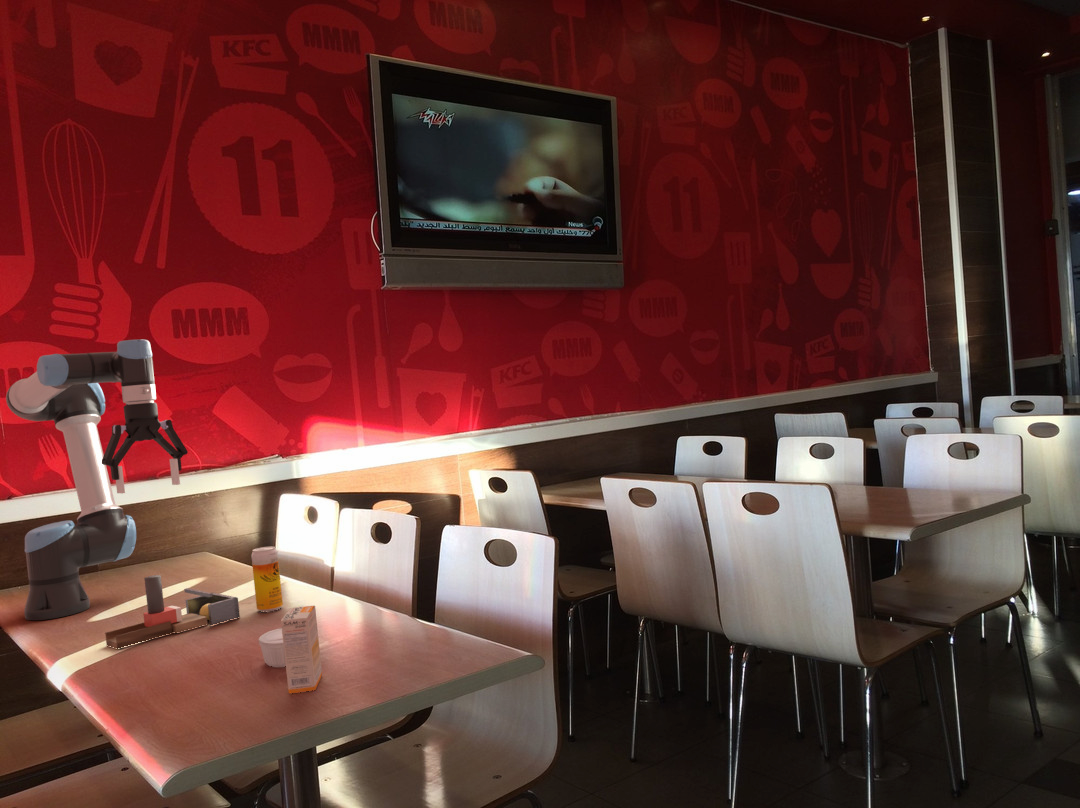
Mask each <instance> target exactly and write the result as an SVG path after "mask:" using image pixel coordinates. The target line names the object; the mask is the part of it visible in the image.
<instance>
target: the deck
mask: <svg viewBox="0 0 1080 808" xmlns="http://www.w3.org/2000/svg"><path fill="white" fill-rule="evenodd" d="M208 622H209V621H207V617H205V616H201V615H197V614H193V613H189V614H187V613H185V614H182V621H179V622H175V623H171V628H172V632H175V633H177V632H181V631H184V630H188V629H192V628H195V627H199V626H202V625H206V624H208ZM208 625H209V624H208Z"/></svg>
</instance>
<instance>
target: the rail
mask: <svg viewBox="0 0 1080 808" xmlns="http://www.w3.org/2000/svg"><path fill="white" fill-rule="evenodd" d="M170 633H172V628H171V621H169V622H165V623H162V624H158V625H154V626H151V627H146V626H145V624H144V621H143V622H140V623H136V624H133V625H130V626H129V625H128V626H125V627H121V628H118V629H114V630H110V631H106V632H104V634H105V643H106V646H107V645H108V646H111V647H114V648H117V649H118V648H121V647H124V646H128V645H131V644H135V643H138V642H142V641H146V640H149V639H152V638H155V637H159V636H162V635H166V634H170ZM172 634H173V633H172ZM108 646H107V647H108ZM111 647H110V648H111ZM114 648H113V649H114ZM117 649H116V650H117Z"/></svg>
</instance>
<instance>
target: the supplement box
mask: <svg viewBox="0 0 1080 808" xmlns="http://www.w3.org/2000/svg"><path fill="white" fill-rule="evenodd" d="M316 610H317V609H316V605H307V606H298V607H297V606H296V607H291V608H289V609H288V611H287V612H286V613H285V614H284V616H283V617H282V618H281V620H280V624H281V626H280V627H281V628H282V635H283V645H284V654H285V663H286V667H285V671H286V673H285V674H286V680H287V690H288V694H290V695H292V693H293V694H298V693H300V692H301V693H305V692H306V691H309V692H315V691H316V689H317V687H318V685H319V684H320V681H321V678H322V675H323V671H322V660H321V649H320V641H319V632H318V631H319V630H318V621H317V619H318V618H317V613H316ZM312 690H313V691H312ZM314 690H315V691H314ZM301 693H300V694H301ZM306 693H307V692H306Z"/></svg>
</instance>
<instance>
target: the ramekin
mask: <svg viewBox="0 0 1080 808" xmlns="http://www.w3.org/2000/svg"><path fill="white" fill-rule="evenodd" d="M258 645H259V646H260V649H261V653H262V657H263V660H264V663H265V664H266V665H267V666H269V667H271V666H272V667H271V668H286V667H285V666H286V663H285V654H284V645H283V635H282V627H281V628H276V629H273V630H269V631H266V632H265V633H263V634H262V635H260V636H259V638H258Z"/></svg>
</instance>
